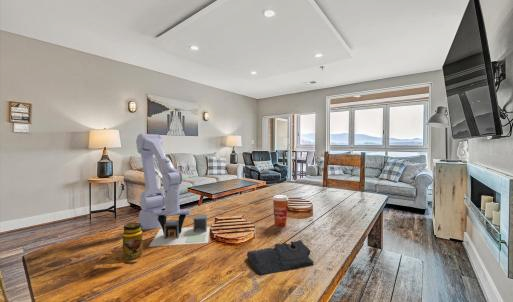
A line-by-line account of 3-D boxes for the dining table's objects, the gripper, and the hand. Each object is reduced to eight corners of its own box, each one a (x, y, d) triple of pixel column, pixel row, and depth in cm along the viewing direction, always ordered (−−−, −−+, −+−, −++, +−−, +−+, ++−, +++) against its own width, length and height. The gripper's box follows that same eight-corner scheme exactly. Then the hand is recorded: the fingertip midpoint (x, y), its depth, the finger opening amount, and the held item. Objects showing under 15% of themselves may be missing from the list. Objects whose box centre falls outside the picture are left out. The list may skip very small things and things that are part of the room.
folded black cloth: (242, 255, 85) (242, 242, 84) (295, 246, 92) (296, 234, 92) (257, 279, 70) (257, 263, 70) (319, 265, 78) (319, 251, 78)
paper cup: (270, 226, 113) (270, 197, 112) (275, 221, 120) (275, 194, 120) (286, 228, 110) (286, 198, 110) (290, 223, 117) (290, 195, 117)
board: (148, 249, 88) (148, 246, 88) (160, 231, 106) (160, 228, 106) (208, 245, 92) (208, 242, 92) (209, 228, 110) (209, 226, 110)
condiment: (132, 265, 77) (132, 229, 77) (112, 261, 80) (112, 226, 79) (149, 254, 84) (148, 221, 84) (130, 251, 87) (129, 219, 86)
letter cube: (168, 237, 97) (168, 230, 96) (169, 234, 100) (169, 227, 100) (175, 237, 97) (175, 230, 97) (176, 234, 100) (176, 227, 100)
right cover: (193, 232, 102) (193, 218, 102) (194, 227, 108) (194, 214, 108) (206, 231, 103) (206, 218, 103) (207, 227, 109) (207, 214, 108)
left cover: (164, 239, 95) (164, 224, 95) (167, 233, 101) (167, 220, 100) (178, 238, 96) (178, 223, 96) (180, 233, 102) (180, 219, 101)
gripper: (151, 203, 93) (151, 237, 93) (189, 202, 95) (189, 235, 96) (155, 199, 100) (156, 230, 100) (191, 198, 102) (191, 228, 103)
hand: (172, 232), depth 98 cm, fingers closed on left cover, 5 cm apart
